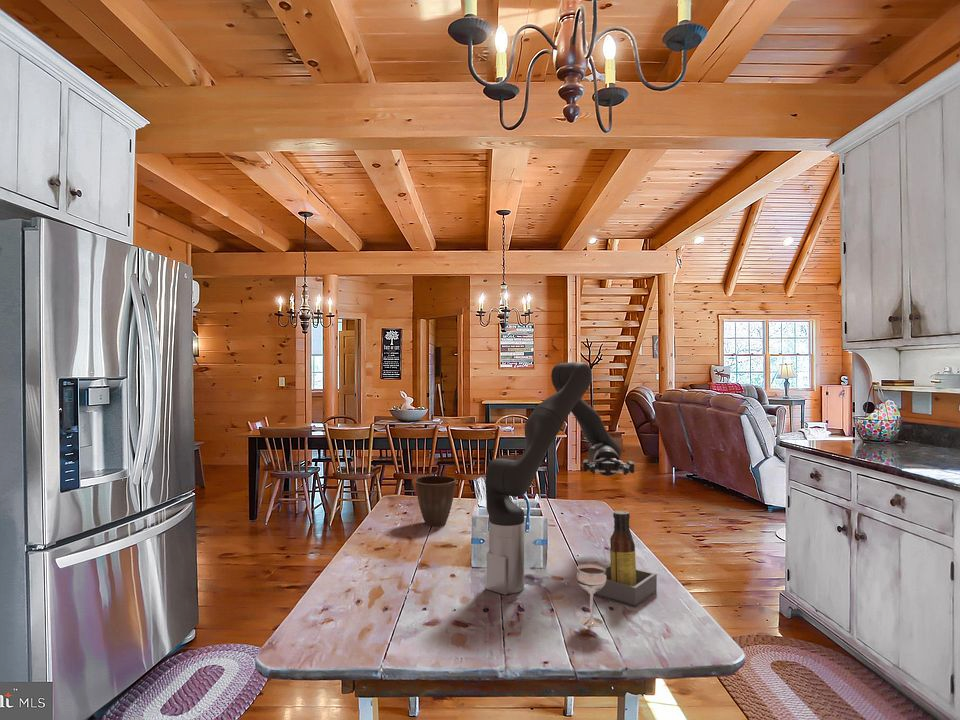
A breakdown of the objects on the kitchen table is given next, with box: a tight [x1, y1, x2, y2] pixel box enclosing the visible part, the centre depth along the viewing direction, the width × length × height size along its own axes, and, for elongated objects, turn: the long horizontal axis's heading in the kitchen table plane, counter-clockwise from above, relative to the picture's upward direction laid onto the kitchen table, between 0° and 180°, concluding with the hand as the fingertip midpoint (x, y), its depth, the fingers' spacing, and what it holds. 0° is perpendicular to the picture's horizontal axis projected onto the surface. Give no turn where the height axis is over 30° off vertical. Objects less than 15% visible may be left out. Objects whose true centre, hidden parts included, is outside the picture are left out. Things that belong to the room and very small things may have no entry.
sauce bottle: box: [609, 510, 637, 586], centre depth 151 cm, size 6×6×20 cm
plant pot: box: [414, 475, 457, 527], centre depth 215 cm, size 15×15×16 cm
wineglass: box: [576, 563, 607, 628], centre depth 134 cm, size 7×7×12 cm
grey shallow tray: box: [593, 563, 658, 608], centre depth 151 cm, size 13×13×5 cm
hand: (609, 470), depth 163 cm, fingers open, 8 cm apart
